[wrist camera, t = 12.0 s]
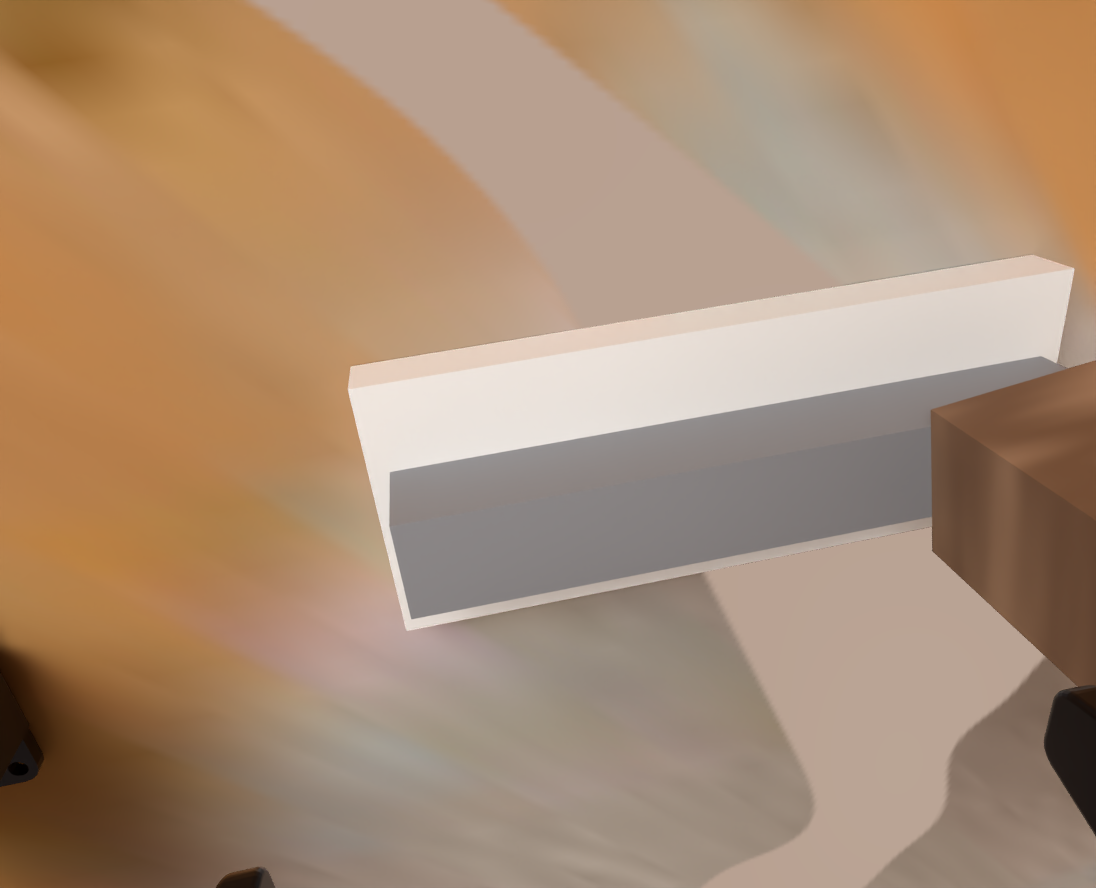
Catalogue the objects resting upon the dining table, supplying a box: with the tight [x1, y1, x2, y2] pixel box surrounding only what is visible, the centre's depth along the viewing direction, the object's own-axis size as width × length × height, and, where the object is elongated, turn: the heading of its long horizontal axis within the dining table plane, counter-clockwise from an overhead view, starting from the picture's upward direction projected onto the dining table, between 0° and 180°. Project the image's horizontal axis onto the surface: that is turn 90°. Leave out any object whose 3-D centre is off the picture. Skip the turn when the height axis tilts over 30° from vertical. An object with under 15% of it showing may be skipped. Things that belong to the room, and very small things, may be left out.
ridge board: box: [348, 255, 1075, 631], centre depth 20 cm, size 18×7×4 cm, turn 96°
